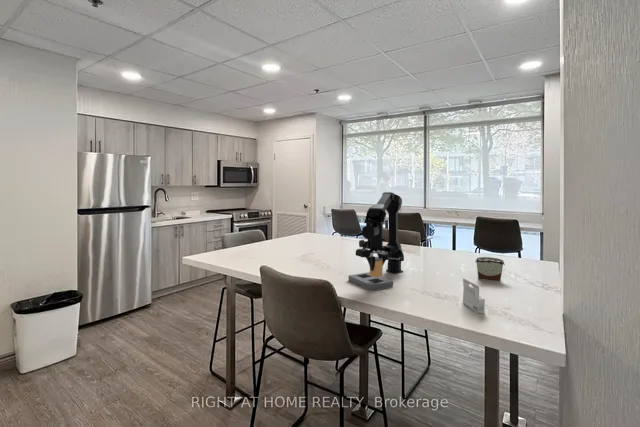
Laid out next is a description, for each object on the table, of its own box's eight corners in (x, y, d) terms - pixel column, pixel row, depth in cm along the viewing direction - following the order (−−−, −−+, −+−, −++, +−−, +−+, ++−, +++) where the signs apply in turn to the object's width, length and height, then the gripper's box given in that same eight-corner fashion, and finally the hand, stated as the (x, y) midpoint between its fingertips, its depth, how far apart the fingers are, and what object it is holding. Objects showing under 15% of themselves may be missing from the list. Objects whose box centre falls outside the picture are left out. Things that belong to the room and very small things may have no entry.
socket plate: (368, 277, 163) (368, 272, 163) (392, 286, 147) (393, 281, 147) (348, 280, 158) (348, 275, 157) (371, 291, 142) (371, 285, 142)
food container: (502, 278, 158) (503, 258, 158) (504, 282, 153) (504, 260, 152) (474, 275, 164) (475, 256, 163) (474, 279, 158) (475, 258, 157)
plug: (376, 273, 151) (376, 256, 150) (382, 275, 147) (382, 258, 147) (369, 275, 149) (369, 257, 148) (375, 277, 146) (375, 259, 145)
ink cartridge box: (468, 302, 127) (468, 277, 126) (484, 313, 116) (485, 286, 115) (462, 302, 127) (462, 277, 126) (478, 313, 116) (478, 286, 115)
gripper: (381, 231, 158) (381, 263, 160) (348, 235, 149) (348, 268, 151) (397, 234, 148) (396, 268, 150) (363, 238, 140) (363, 274, 141)
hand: (376, 270), depth 148 cm, fingers closed on plug, 4 cm apart
